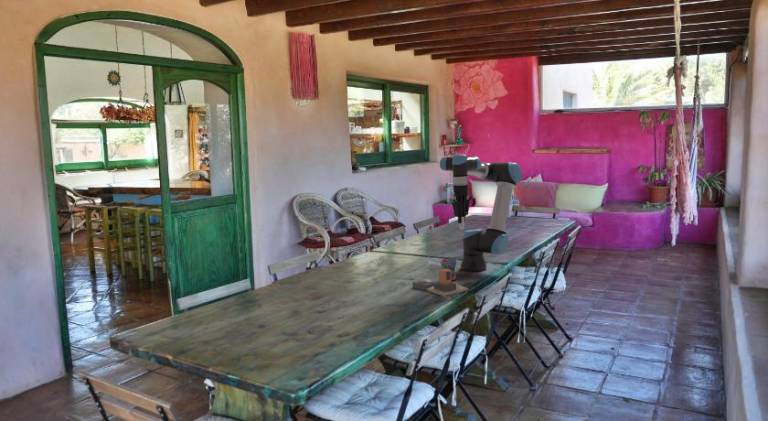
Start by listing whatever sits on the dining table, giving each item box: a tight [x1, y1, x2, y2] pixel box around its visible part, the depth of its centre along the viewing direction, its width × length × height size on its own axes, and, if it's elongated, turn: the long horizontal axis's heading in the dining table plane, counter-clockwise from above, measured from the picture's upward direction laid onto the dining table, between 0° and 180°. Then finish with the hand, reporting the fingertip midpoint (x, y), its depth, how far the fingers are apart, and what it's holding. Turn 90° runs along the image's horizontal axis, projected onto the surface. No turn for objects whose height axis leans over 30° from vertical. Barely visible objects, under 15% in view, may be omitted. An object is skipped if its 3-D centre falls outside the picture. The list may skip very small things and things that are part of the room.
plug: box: [438, 268, 452, 285], centre depth 289 cm, size 4×6×10 cm
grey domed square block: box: [411, 277, 439, 292], centre depth 300 cm, size 10×10×4 cm
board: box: [427, 281, 469, 297], centre depth 293 cm, size 16×16×4 cm
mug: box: [439, 258, 458, 282], centre depth 314 cm, size 12×9×11 cm
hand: (461, 229), depth 300 cm, fingers closed
